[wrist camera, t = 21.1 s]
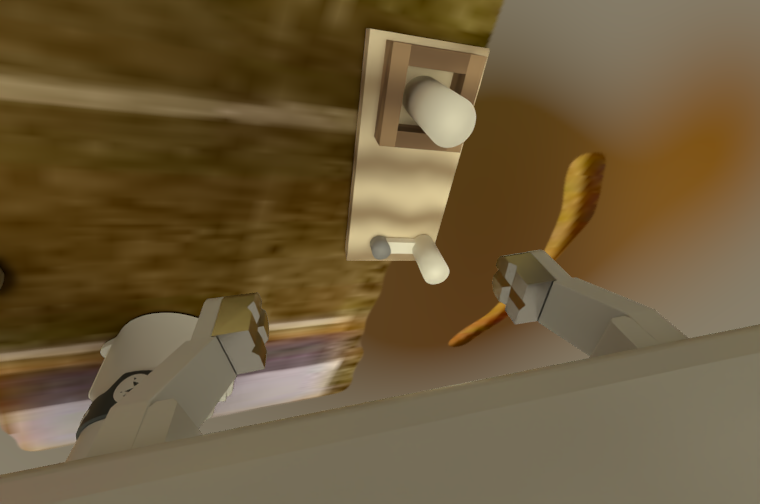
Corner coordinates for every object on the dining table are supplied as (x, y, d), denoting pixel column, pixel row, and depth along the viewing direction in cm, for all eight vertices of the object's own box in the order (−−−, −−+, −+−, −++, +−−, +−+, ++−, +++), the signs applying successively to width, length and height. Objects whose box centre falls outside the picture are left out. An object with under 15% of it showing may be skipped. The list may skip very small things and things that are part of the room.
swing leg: (368, 252, 43) (376, 284, 38) (371, 232, 41) (380, 263, 36) (429, 254, 45) (445, 284, 40) (435, 234, 43) (452, 263, 38)
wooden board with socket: (425, 250, 48) (436, 273, 44) (345, 250, 45) (349, 274, 41) (479, 47, 33) (505, 51, 29) (366, 27, 31) (375, 29, 26)
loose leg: (426, 124, 35) (456, 155, 28) (395, 106, 33) (418, 135, 26) (447, 87, 33) (485, 111, 26) (416, 67, 31) (447, 86, 24)
